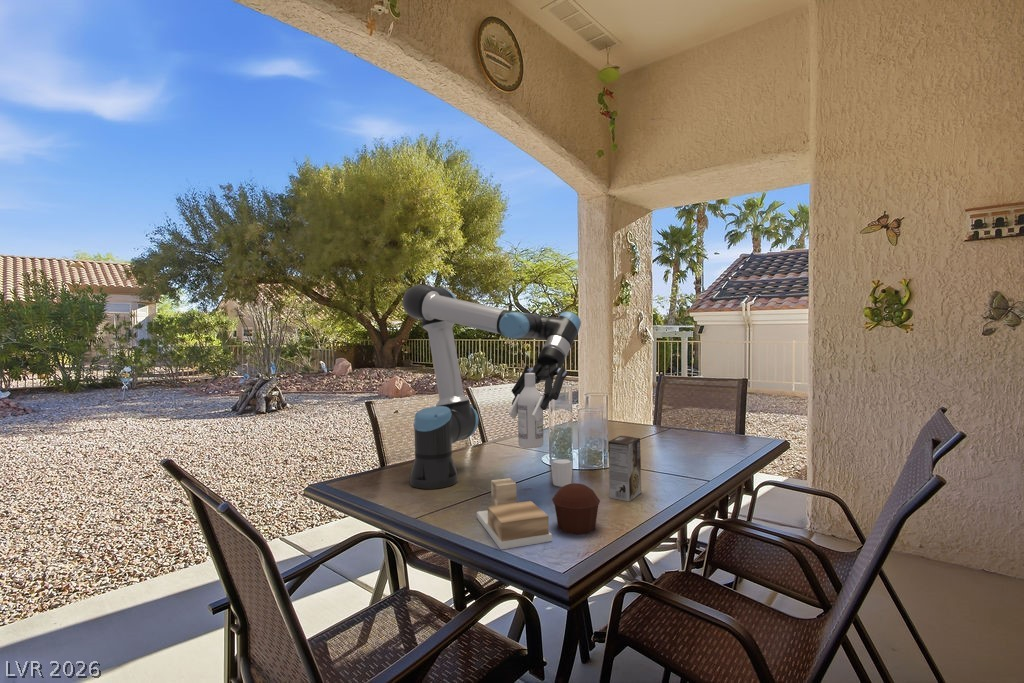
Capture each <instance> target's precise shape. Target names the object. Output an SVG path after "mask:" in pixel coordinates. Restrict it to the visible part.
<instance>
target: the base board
mask: <svg viewBox="0 0 1024 683" xmlns="http://www.w3.org/2000/svg"><path fill="white" fill-rule="evenodd" d="M476 518H477V520H478V521H479V522H480V524H481V525H482V527H483V528H484V530H486V532H487V534H488V535H489V536H490V538H491V539H492V540H493V541H494V543H495V544H496V546H497V547H498V548H499V550H507V549H513V548H517V547H524V546H531V545H536V544H537V545H538V544H543V543H548V542H549V543H550V542H552V541H553V534H552V533H551V532H550V531H549V534H545V535H539V536H533V537H527V538H520V539H514V540H508V541H501V540H500V538H499V537H498V536H497V534H496V533H495V532H494V531H493V529H492V528H491V527H490V525H489V524H488V509H487V510H479V511H476Z"/></svg>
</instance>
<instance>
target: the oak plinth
mask: <svg viewBox="0 0 1024 683" xmlns="http://www.w3.org/2000/svg"><path fill="white" fill-rule="evenodd" d="M487 510H488V524H489V525H490V527H491V528H492V529H493V531H494V532H495V533H496V534H497V536H498V537H499V538H500V540H501V541H508V540H514V539H520V538H527V537H533V536H539V535H545V534H549V532H550V528H549V526H550V525H549V524H550V521H549V515H548V514H547V513H546V512H545V511H543V510H542V509H541V508H540V507H539V506H537V505H536V504H535V503H534V502H533V501H532V500H528V501H527V500H526V501H519V502H518V501H517V503H511V504H503V505H496V506H492V505H490V506H487Z"/></svg>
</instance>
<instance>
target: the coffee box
mask: <svg viewBox="0 0 1024 683" xmlns="http://www.w3.org/2000/svg"><path fill="white" fill-rule="evenodd" d="M607 443H608V445H607V446H608V490H609V493H608V494H609V498H610V499H614V500H619V501H624V502H631V501H633V500H634V499H635V498H636V497H638V496H639V495H640V494H641V493H642V465H641V464H642V463H641V462H642V461H641V438H640V437H633V436H627V435H619V436H616V437H615V438H612V439H611V440H608V442H607Z"/></svg>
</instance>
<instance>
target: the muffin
mask: <svg viewBox="0 0 1024 683" xmlns="http://www.w3.org/2000/svg"><path fill="white" fill-rule="evenodd" d="M551 501H552V503H553V504H554V505H553V506H554V509H555V515H556V521H557V527H558V530H559V531H562V532H563V533H565V534H569V535H570V534H571V535H576V536H578V535H587V534H590V533H592V532H594V531H595V530H596V525H597V517H598V510H599V505H600V502H601V500H600V498H599V497H598V495H597V494H596V493H595V491H594V490H593V489H592V488H591V487H589V486H587V485H586V484H583V483H577V482H576V483H573V482H572V483H571V484H568V485H565V486H563V487H560V489H558V491H557V492H555V494H554V496H553V497H552V499H551Z"/></svg>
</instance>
